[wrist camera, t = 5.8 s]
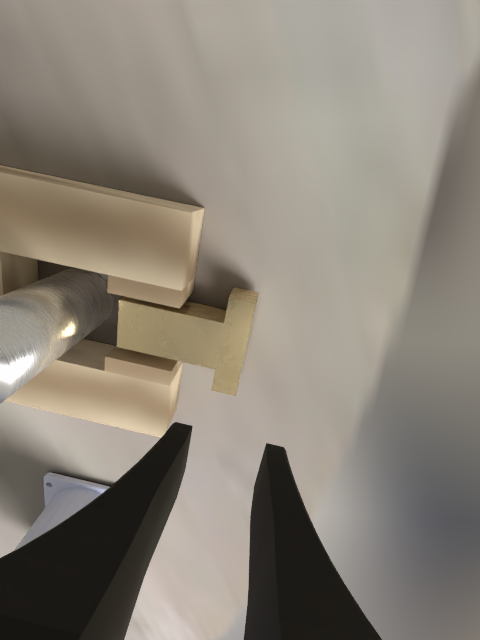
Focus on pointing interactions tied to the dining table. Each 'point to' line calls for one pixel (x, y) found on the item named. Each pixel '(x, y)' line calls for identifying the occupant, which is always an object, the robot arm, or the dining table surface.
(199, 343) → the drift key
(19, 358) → the steel peg
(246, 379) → the dining table surface
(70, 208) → the socket block
